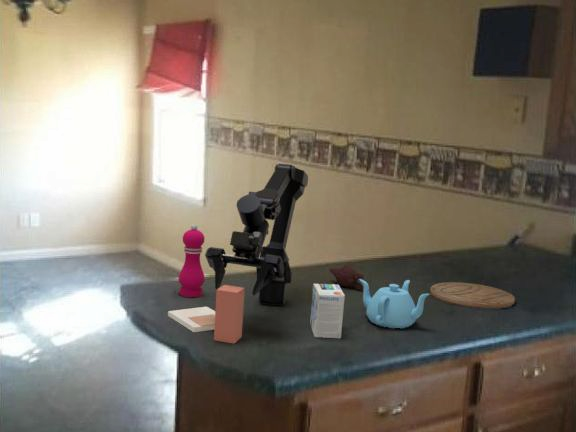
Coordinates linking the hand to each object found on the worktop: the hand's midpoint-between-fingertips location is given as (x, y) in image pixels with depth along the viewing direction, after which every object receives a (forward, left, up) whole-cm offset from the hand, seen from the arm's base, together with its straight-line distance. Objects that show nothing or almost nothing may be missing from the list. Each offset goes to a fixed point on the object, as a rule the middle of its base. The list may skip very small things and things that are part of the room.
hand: (234, 291), depth 170 cm
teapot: (-40, -20, -11) cm, 46 cm away
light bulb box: (-22, -8, -11) cm, 26 cm away
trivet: (-68, -51, -11) cm, 86 cm away
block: (+1, +3, -11) cm, 11 cm away
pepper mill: (+15, -32, -11) cm, 37 cm away
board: (+9, -9, -11) cm, 16 cm away
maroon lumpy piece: (-30, -54, -11) cm, 63 cm away
